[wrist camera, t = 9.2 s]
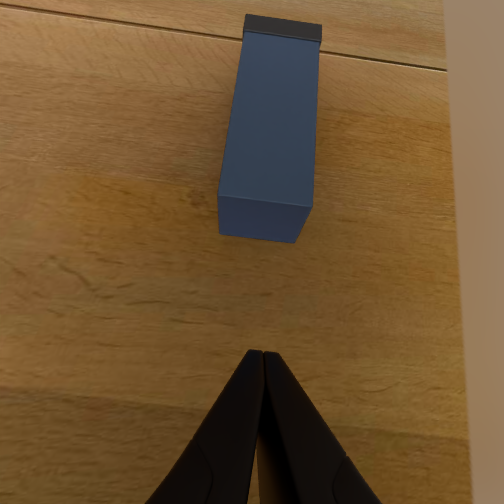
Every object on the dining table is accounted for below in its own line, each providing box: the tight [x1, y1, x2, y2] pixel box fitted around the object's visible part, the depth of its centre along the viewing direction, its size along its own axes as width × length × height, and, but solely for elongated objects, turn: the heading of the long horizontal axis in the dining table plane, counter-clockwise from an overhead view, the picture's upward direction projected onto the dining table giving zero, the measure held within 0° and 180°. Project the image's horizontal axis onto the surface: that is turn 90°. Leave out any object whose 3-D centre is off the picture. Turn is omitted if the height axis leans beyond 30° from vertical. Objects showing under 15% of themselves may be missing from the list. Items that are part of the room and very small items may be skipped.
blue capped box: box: [217, 14, 322, 243], centre depth 22 cm, size 5×5×14 cm
